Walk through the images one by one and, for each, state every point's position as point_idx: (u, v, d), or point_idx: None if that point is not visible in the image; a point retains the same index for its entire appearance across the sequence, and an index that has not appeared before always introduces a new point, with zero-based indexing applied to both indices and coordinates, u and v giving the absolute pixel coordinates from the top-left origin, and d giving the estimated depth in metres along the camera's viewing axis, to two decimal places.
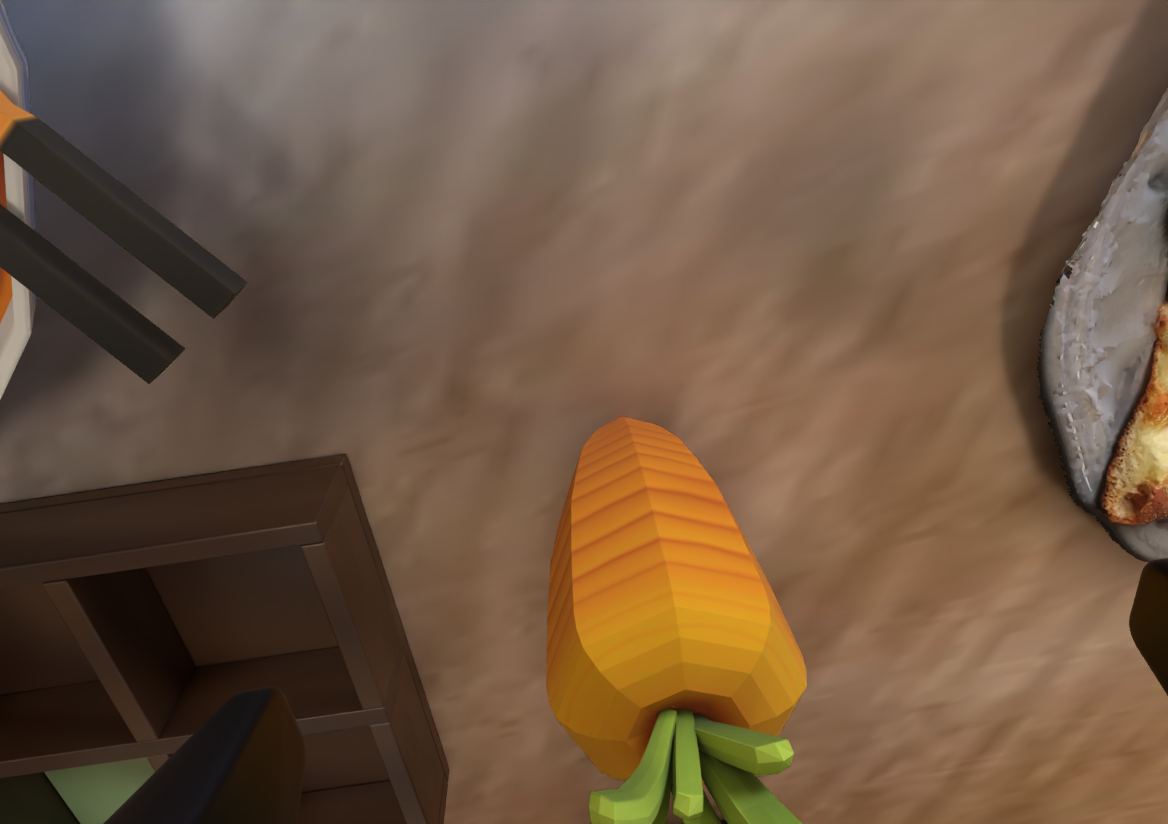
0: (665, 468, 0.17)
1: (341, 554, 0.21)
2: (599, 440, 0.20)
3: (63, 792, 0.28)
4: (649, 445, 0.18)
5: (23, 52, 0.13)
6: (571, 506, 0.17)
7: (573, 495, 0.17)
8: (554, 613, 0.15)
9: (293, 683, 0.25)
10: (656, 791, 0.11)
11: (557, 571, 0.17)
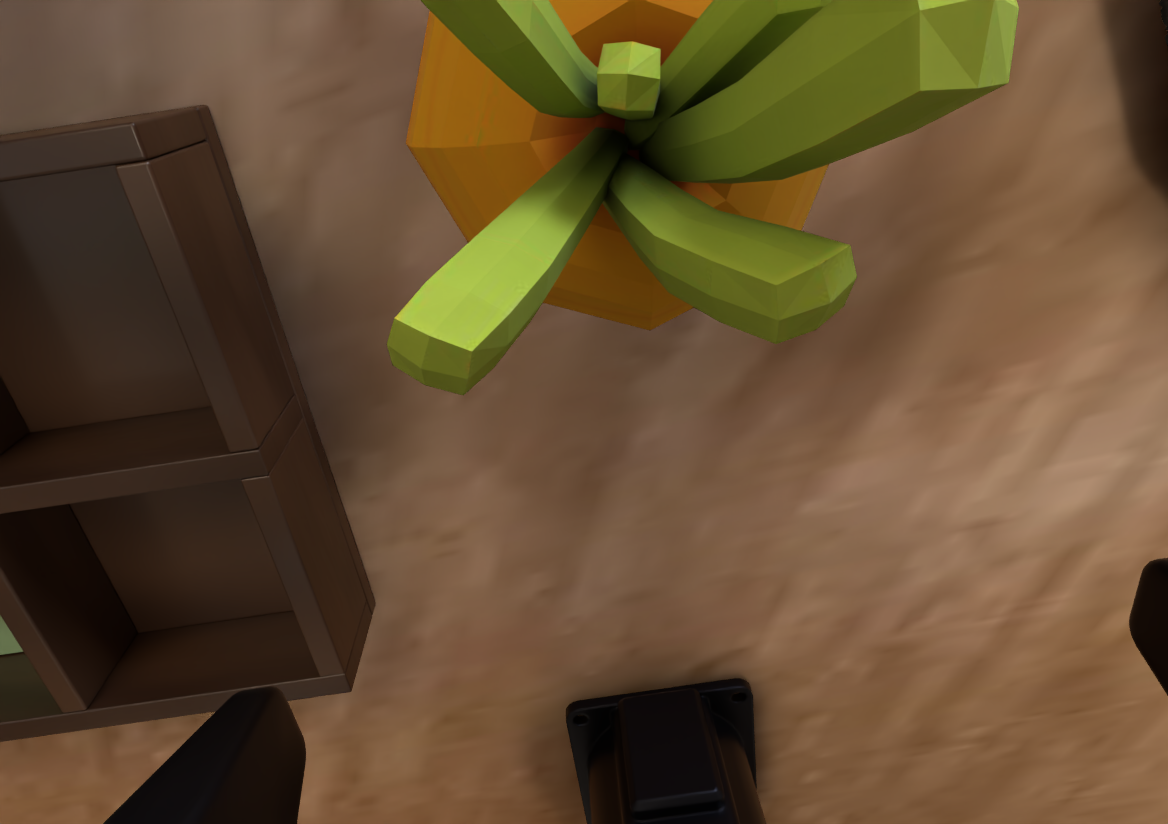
0: None
1: (185, 205, 0.15)
2: None
3: None
4: None
5: None
6: None
7: None
8: None
9: (147, 437, 0.19)
10: (558, 21, 0.05)
11: None
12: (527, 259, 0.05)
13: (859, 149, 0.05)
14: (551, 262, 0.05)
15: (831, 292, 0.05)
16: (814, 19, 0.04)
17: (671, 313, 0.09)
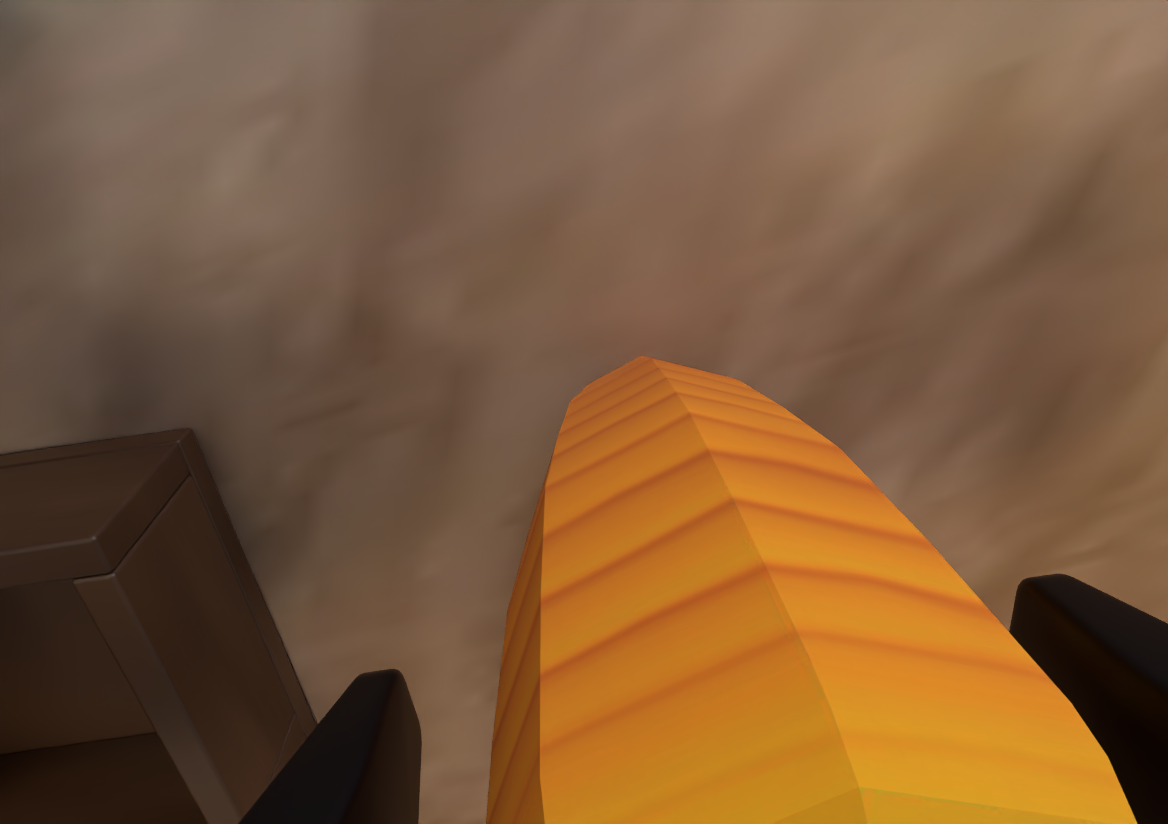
0: (737, 419, 0.08)
1: (161, 592, 0.13)
2: (600, 387, 0.11)
3: None
4: (696, 385, 0.10)
5: None
6: (545, 498, 0.08)
7: (550, 477, 0.09)
8: (503, 743, 0.07)
9: (121, 788, 0.16)
10: None
11: (515, 637, 0.08)
12: None
13: None
14: None
15: None
16: None
17: None
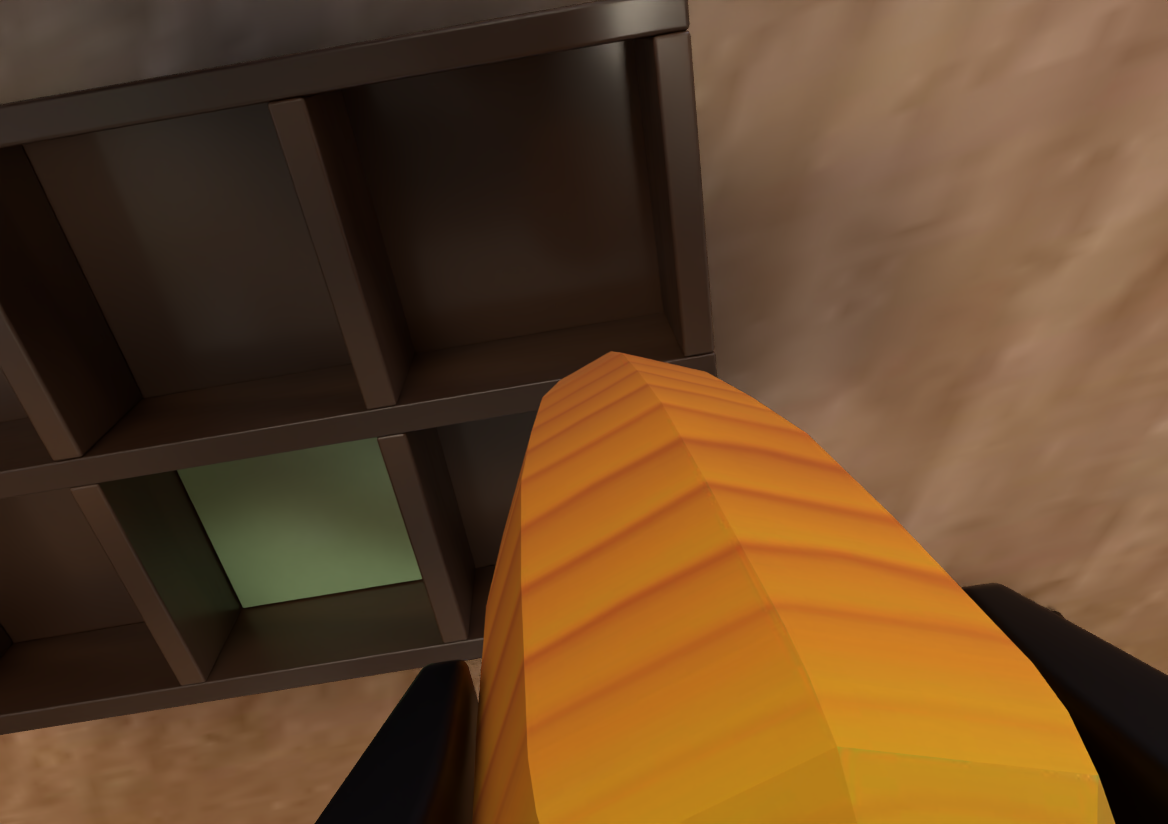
0: (708, 409, 0.09)
1: None
2: (571, 382, 0.11)
3: (223, 553, 0.22)
4: (666, 377, 0.10)
5: None
6: (521, 491, 0.08)
7: (525, 470, 0.09)
8: (487, 731, 0.07)
9: (564, 350, 0.18)
10: None
11: (495, 629, 0.08)
12: None
13: None
14: None
15: None
16: None
17: None
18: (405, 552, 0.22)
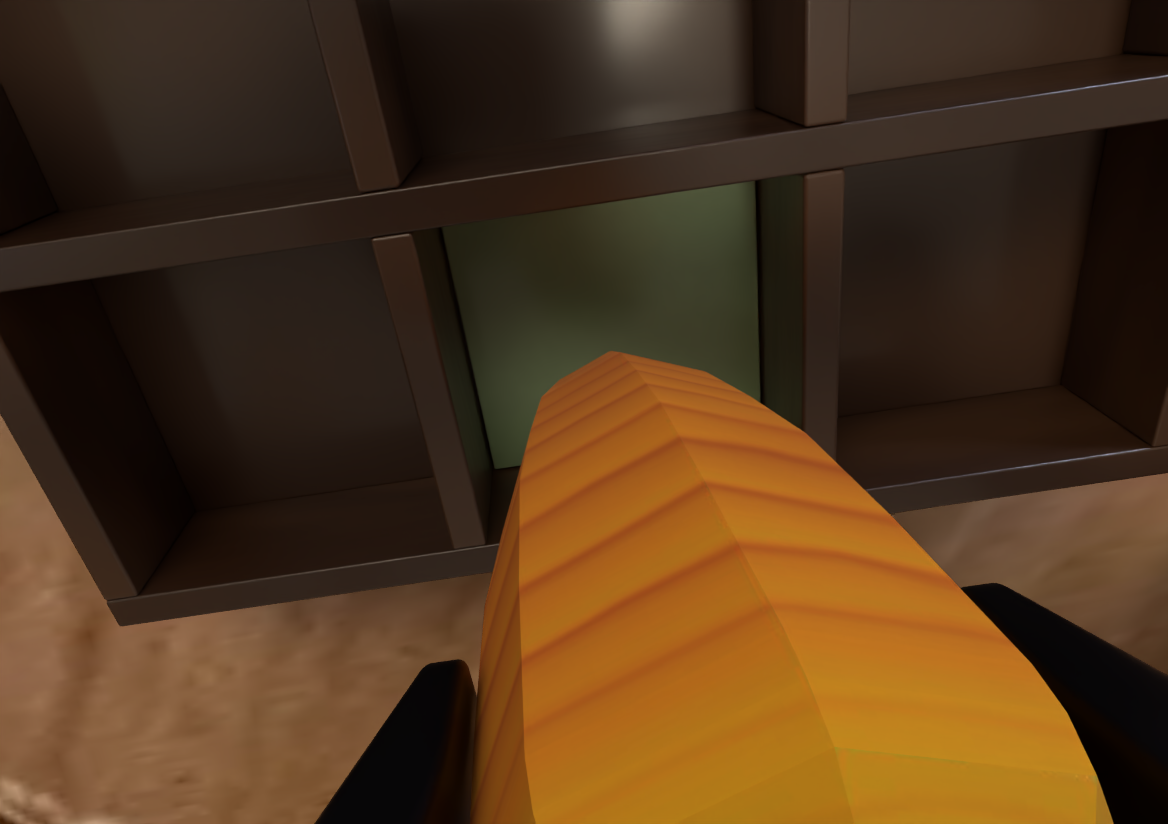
0: (707, 408, 0.09)
1: None
2: (570, 382, 0.11)
3: (486, 390, 0.17)
4: (665, 376, 0.10)
5: None
6: (520, 491, 0.08)
7: (524, 470, 0.09)
8: (485, 732, 0.07)
9: (1029, 79, 0.13)
10: None
11: (493, 629, 0.08)
12: None
13: None
14: None
15: None
16: None
17: None
18: None
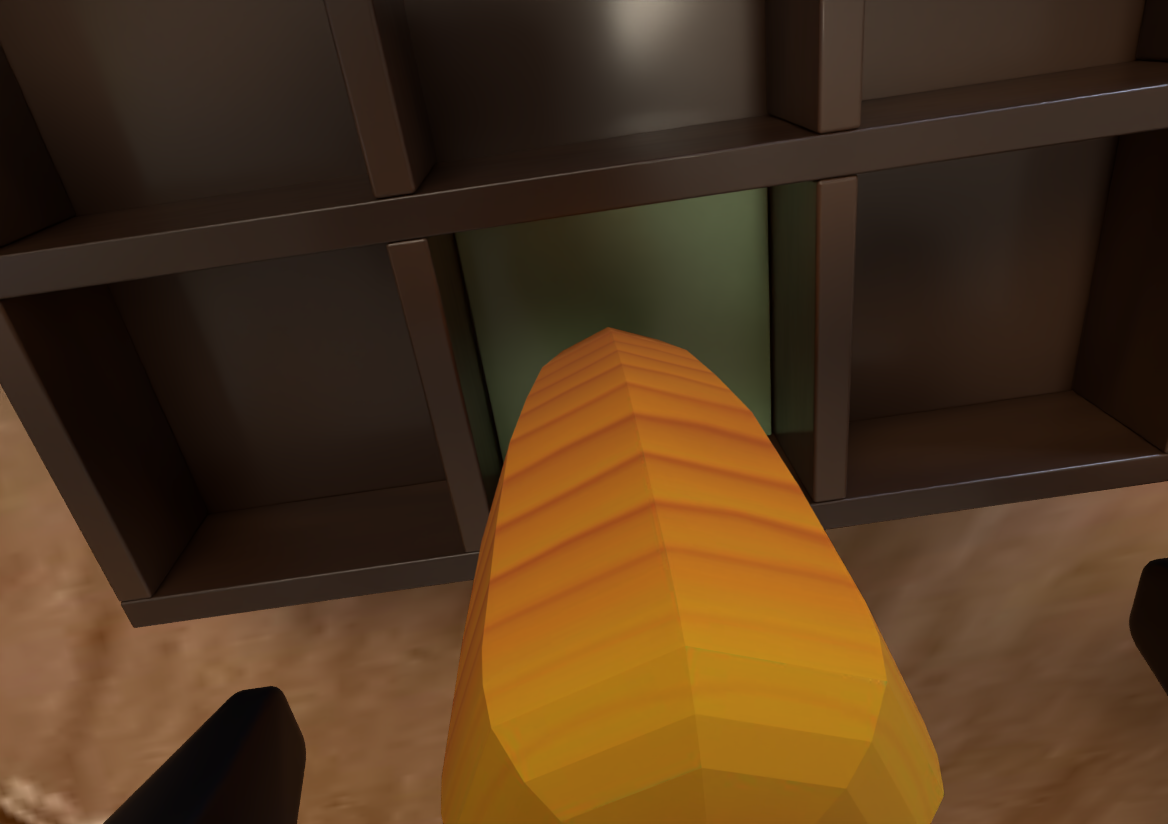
0: (667, 388, 0.10)
1: None
2: (566, 355, 0.13)
3: (497, 394, 0.17)
4: (642, 356, 0.11)
5: None
6: (508, 450, 0.10)
7: (514, 433, 0.10)
8: (467, 636, 0.09)
9: (1042, 86, 0.13)
10: None
11: (482, 560, 0.10)
12: None
13: None
14: None
15: None
16: None
17: None
18: None
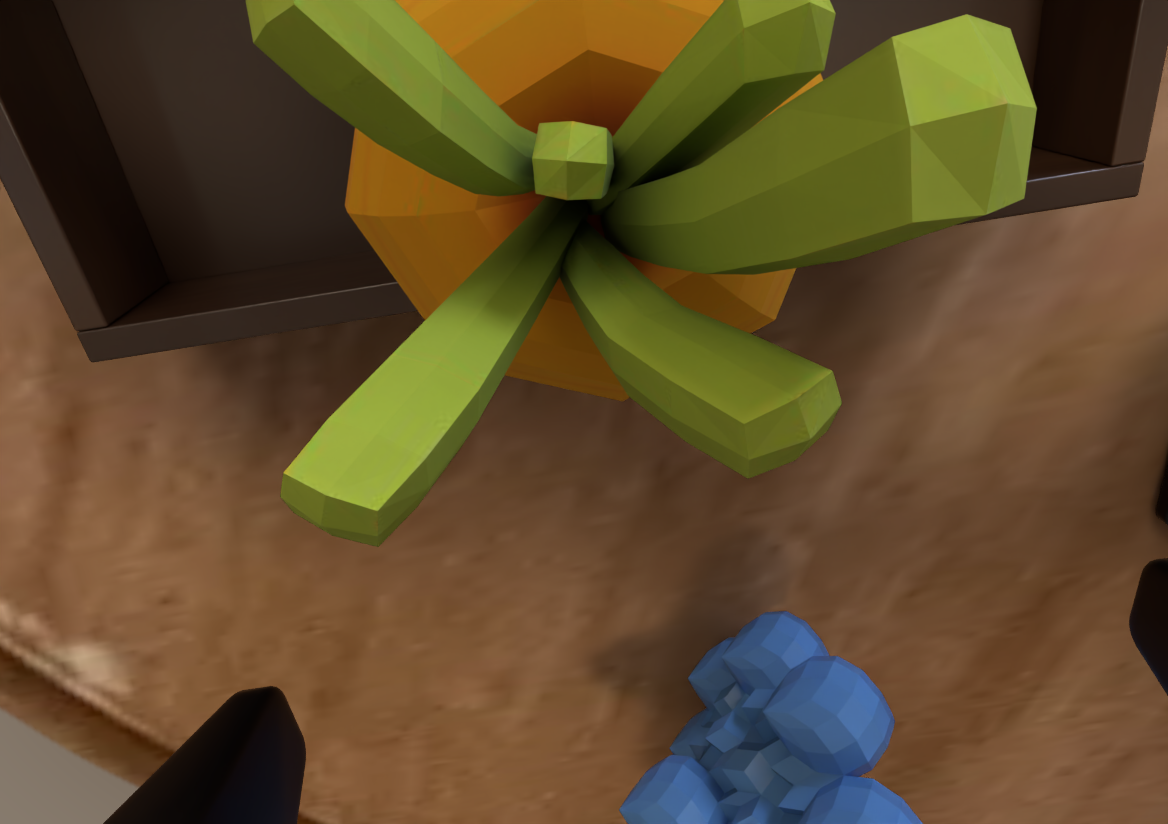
0: None
1: None
2: None
3: None
4: None
5: None
6: None
7: None
8: None
9: None
10: (483, 100, 0.04)
11: None
12: (450, 381, 0.04)
13: (841, 259, 0.04)
14: (481, 383, 0.04)
15: (811, 426, 0.04)
16: (781, 108, 0.04)
17: None
18: None
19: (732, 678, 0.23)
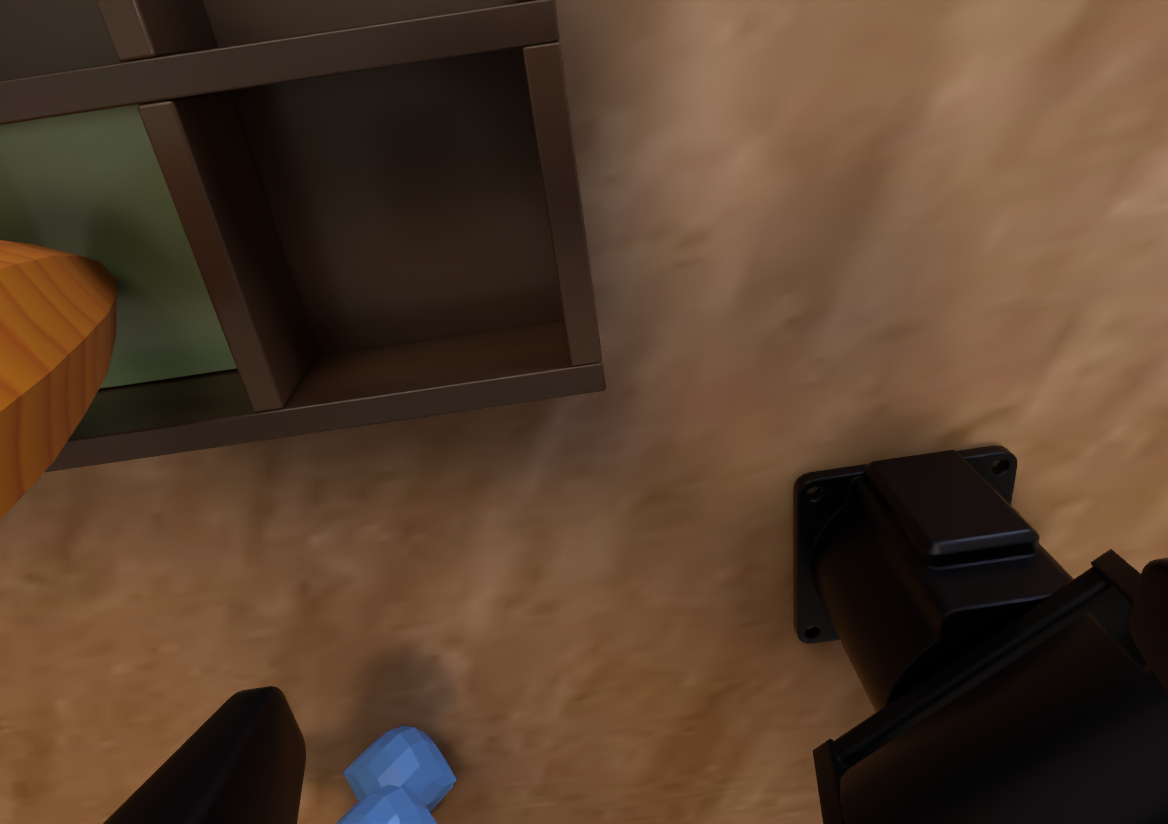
0: None
1: None
2: None
3: None
4: None
5: None
6: None
7: None
8: None
9: None
10: None
11: None
12: None
13: None
14: None
15: None
16: None
17: None
18: None
19: None
